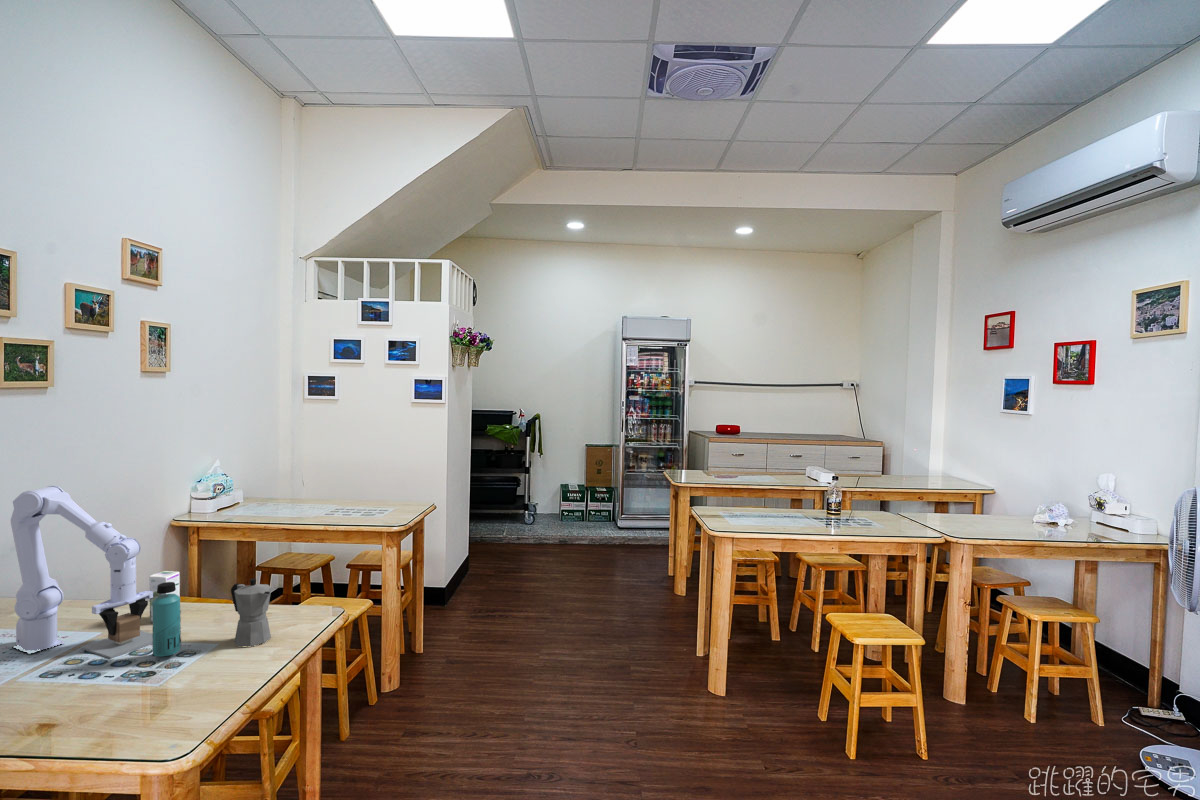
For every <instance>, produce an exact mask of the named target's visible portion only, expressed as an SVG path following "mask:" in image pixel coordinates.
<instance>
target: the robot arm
mask: <svg viewBox="0 0 1200 800" xmlns="http://www.w3.org/2000/svg"><path fill="white" fill-rule="evenodd" d="M12 505H13V511H12V513H11V517H10V526H11V530H12V536H13V540H14V541H13V542H14V546H15V551H16V555H17V556H16V557H17V561H18V566H19V571H20V577H21V580H22V584H21V586H20V588H19V589H18V591H17V592H16V594H15V599H16V602H15V604H14V612H15V614H16V616H18V617H19V618H18V619H17V622H16V624H15V644H16V645H19V646H21V647H22V648H23V649H25V650H37V649H38V650H39V649H40V650H43V649H46V650H48V649H47V648H49V649H51V648H50V647H52V648H55V647H54V646H56V647H58V646H57V645H59V646H61V645H60V644H62V645H65V644H64V643H66V642H65V641H63V640H60V639H58V610H59V606H60V605H61V604H62V603H63V601H64V598H65V597H64V591H63V590H62V589H61V588H60V585H59V584H58V581H57V580H56V579H54V578H52V577H50V573H49V568H48V563H47V558H46V553H45V547H44V543H43V538H42V532H41V528H40V521H41V520H42V519H44V518H45V517H46V516H47V515H59V516H61V517H63V518H64V519H66V520H67V521H69V522H71V523H72V524H74V525H75V526H76V527H78V528H79V529H81V530H82V531H84V534H85V539H86V540H88V541H89V542H90V543H92V544H93V545H95V546H96V547H97V548H98V549H100V550H102V552H103V553H105V554H104V557H105V559H106V561H107V562H108V563H109V568H110V599H108V600H105V601H103V602H100V603H99V604H98V603H97V604H94V605H92V606H91V614H92V615H99V616H100V618H101V619H102V621H103V622H104V624H105V626H106V629H107V634H108V633H109V635H112V636H113V635H116V621H117V616H119V613H120V612H118V611H116V609H117V608H120V607H123V606H126V605H128V606H129V610H130V611H129V613H131V614H134V615H138V616H140V620H141V618H142V616H143V614H144V612H145V610H146V609H147V607H148V605H149V601H148V600H150V598H153V591H150V589H149V590H145V591H140V592H137V557H136V556H138V555H139V553H140V552H141V547H142V546H141V544H140V542H139V541H138V539H136V538H134V537H132V536H131V537H127V535H125V534H122V533H120V532H119V531H118V530H116V529H115V528H114V527H113V524H112V523H110V522H106V521H97V520H96V519H94V518H93V516H91V515H90V514H89V513H88V512H86V510H84V509H83V508H82V507H80V506H79V505H78V504H77V503H76V502H75V501H74V500H73V499H72V497H71V495H70V493H68V492H66V491H65V490H63V488H62V487H60V486H59V485H48V486H46V487H41V488H38V489H33V490H26V491H23V492H21V493H20V494H19V495H18V496H17V497H16V498H15V499H14V500H12ZM147 599H148V600H147ZM43 651H44V650H43Z"/></svg>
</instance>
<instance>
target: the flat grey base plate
mask: <svg viewBox="0 0 1200 800" xmlns="http://www.w3.org/2000/svg"><path fill="white" fill-rule="evenodd" d="M152 641H153V632H149V631H145V630H141V629H140V636H137V637H134V638H131V639H128V640H125V641H123V642H120V643H119V642H116V641H113V640H110V639H108V637H106V638H103V639H101V640H98V641H94V642H92V643H88V644H85V645H82V646H80V647H79V649H80V650H82V649H83V651H85V650H86V652H89V653H92V654H94V655H97V656H101V657H104V658H108V659H111V660H112V659H115V658H116V657H119V656H122V655H125V654H128V653H131V652H134V651H136V650H139V649H141V648H144V647H147V646H150V645H152V644H153V642H152Z"/></svg>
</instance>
